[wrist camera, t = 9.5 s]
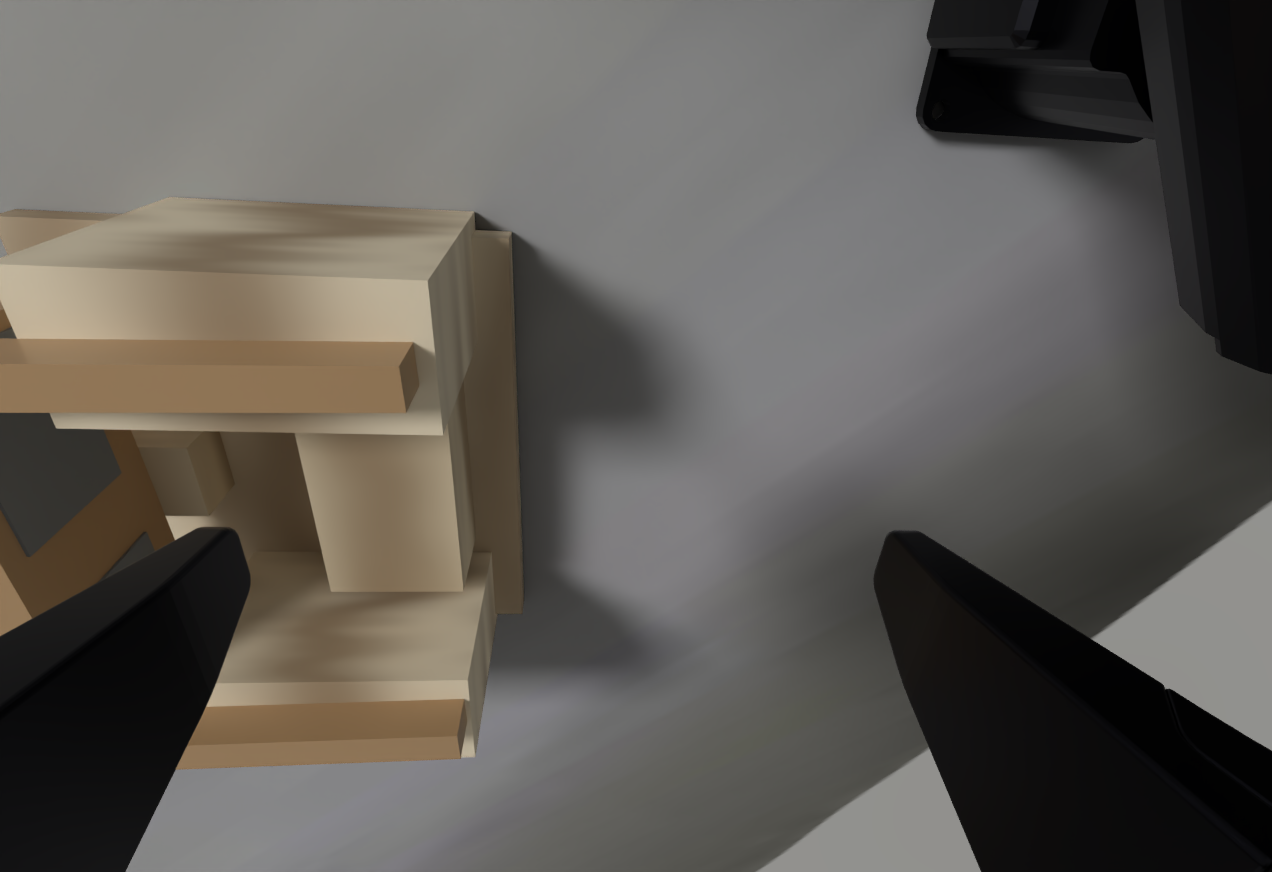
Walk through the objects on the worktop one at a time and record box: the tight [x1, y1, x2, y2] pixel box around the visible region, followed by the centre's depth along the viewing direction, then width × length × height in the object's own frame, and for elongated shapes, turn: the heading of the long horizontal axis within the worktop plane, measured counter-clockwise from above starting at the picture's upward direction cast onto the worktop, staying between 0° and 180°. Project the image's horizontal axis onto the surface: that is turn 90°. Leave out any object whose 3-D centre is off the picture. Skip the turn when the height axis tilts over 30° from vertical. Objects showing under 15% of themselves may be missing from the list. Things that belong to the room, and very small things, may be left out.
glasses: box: [0, 301, 467, 770], centre depth 17 cm, size 10×12×5 cm
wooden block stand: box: [0, 197, 524, 757], centre depth 19 cm, size 13×15×6 cm
